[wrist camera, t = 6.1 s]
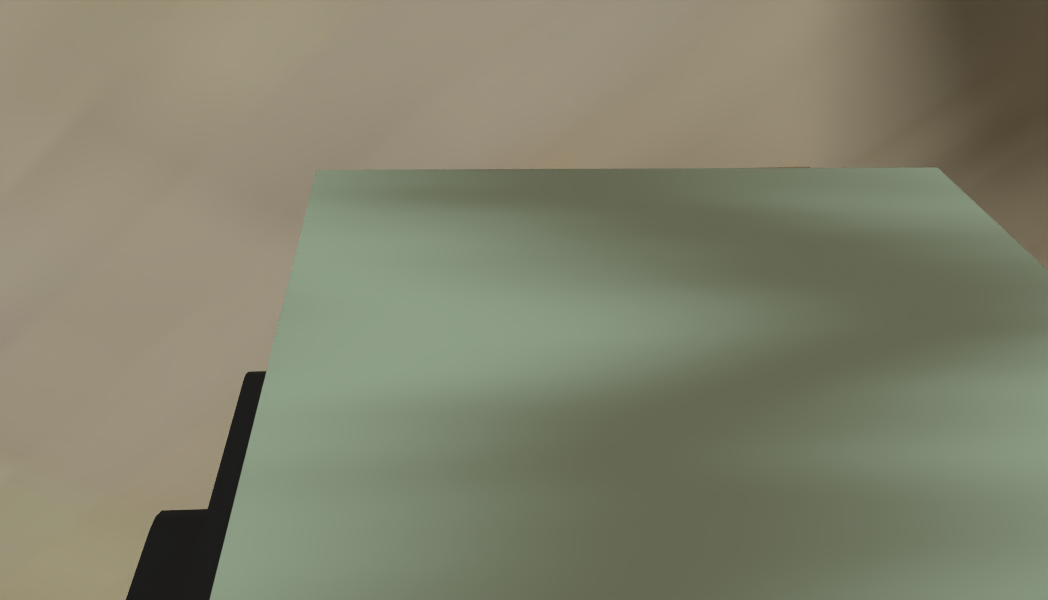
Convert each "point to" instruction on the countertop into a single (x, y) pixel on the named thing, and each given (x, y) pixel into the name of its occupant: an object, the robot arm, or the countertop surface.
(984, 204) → the countertop surface
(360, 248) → the sage block
